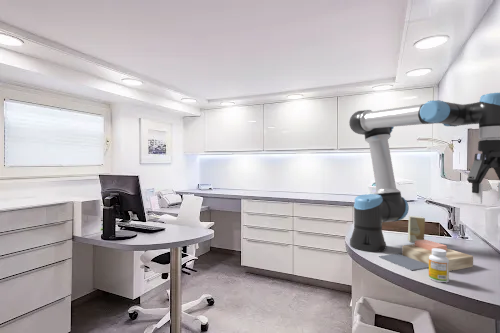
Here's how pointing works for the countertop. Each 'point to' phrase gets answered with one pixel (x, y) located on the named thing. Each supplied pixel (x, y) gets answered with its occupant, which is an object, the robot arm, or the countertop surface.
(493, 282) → the countertop surface
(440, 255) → the supplement bottle
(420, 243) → the salmon pink rectangular block
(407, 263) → the mat
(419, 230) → the skincare box
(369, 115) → the robot arm
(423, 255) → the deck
